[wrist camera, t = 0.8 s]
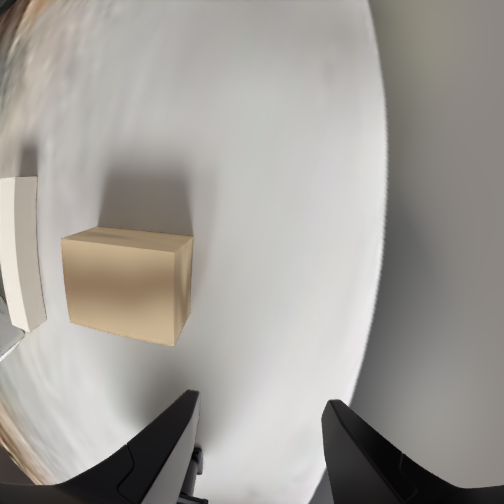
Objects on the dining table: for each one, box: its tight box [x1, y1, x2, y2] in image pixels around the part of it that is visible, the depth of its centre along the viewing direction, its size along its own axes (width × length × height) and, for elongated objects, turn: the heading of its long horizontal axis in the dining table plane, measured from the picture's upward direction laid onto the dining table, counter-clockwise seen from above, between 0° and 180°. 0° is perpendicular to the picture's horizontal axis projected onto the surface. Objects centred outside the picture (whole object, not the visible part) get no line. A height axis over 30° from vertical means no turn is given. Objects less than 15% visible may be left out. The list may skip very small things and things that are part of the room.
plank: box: [0, 176, 47, 332], centre depth 18 cm, size 14×3×3 cm, turn 173°
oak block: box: [61, 227, 194, 347], centre depth 17 cm, size 6×8×5 cm
